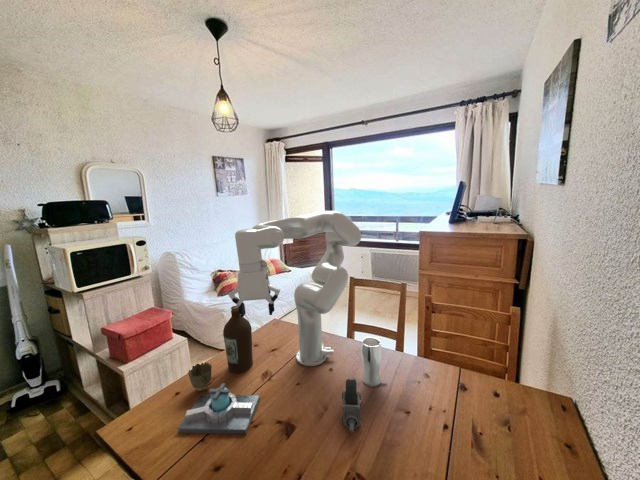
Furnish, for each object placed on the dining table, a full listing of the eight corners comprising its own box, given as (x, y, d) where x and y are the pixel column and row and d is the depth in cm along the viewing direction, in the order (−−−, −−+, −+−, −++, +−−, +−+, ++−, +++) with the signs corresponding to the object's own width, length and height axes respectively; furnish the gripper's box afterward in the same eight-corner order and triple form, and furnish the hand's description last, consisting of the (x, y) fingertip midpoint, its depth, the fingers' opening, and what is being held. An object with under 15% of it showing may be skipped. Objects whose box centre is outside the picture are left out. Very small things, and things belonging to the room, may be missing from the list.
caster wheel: (342, 401, 85) (341, 438, 71) (342, 372, 85) (340, 404, 70) (360, 402, 85) (362, 440, 70) (359, 373, 84) (361, 405, 69)
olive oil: (241, 355, 112) (236, 299, 108) (259, 362, 106) (255, 304, 103) (221, 369, 103) (214, 309, 99) (239, 378, 97) (233, 314, 94)
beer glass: (359, 384, 91) (359, 345, 89) (364, 372, 98) (363, 335, 95) (380, 389, 89) (379, 348, 86) (383, 376, 95) (382, 338, 93)
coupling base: (259, 399, 86) (258, 388, 86) (246, 434, 74) (245, 421, 73) (201, 398, 88) (200, 388, 87) (178, 432, 75) (176, 420, 74)
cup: (205, 398, 88) (202, 376, 87) (186, 395, 90) (183, 374, 88) (217, 383, 95) (215, 362, 94) (200, 380, 97) (197, 361, 96)
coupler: (226, 401, 84) (224, 382, 83) (232, 410, 80) (230, 390, 79) (210, 410, 81) (208, 390, 80) (216, 420, 77) (213, 399, 76)
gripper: (278, 261, 90) (283, 307, 93) (229, 265, 90) (235, 311, 93) (275, 267, 83) (280, 317, 86) (221, 271, 83) (228, 321, 86)
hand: (257, 314), depth 89 cm, fingers open, 9 cm apart
